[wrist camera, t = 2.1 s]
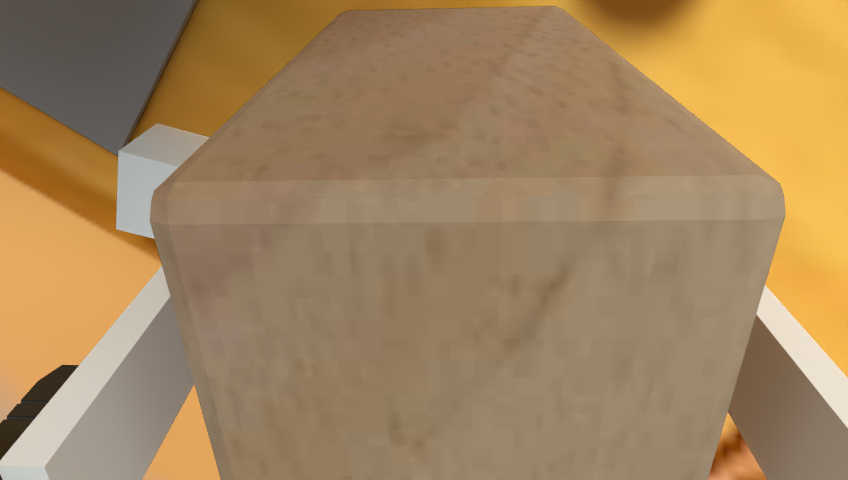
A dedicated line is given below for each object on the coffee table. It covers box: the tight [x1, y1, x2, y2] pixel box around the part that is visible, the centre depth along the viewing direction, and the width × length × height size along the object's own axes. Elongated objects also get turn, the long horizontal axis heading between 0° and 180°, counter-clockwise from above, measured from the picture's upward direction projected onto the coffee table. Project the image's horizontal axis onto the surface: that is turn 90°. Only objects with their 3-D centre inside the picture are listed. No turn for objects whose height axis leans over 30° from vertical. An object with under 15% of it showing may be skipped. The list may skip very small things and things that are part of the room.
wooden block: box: [150, 6, 785, 480], centre depth 20 cm, size 10×10×20 cm
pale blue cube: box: [116, 123, 210, 239], centre depth 29 cm, size 4×4×4 cm
